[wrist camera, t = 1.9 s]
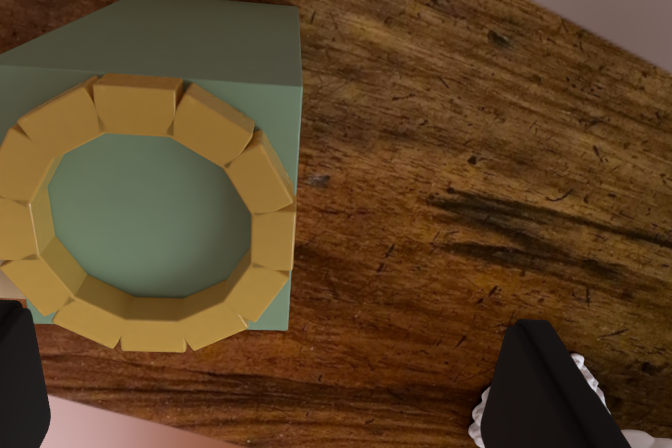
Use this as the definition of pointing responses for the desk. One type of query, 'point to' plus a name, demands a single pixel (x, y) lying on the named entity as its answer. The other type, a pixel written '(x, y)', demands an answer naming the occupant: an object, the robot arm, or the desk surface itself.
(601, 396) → the cherub figurine
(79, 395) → the desk surface
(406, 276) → the desk surface
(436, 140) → the desk surface
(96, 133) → the ring
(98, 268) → the stand
